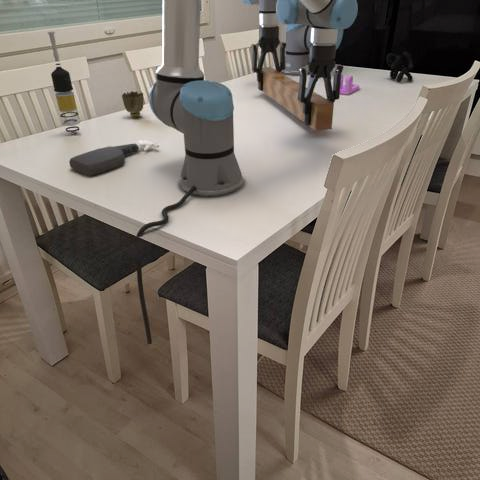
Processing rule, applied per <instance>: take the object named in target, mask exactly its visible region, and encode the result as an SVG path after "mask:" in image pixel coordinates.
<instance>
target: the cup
mask: <svg viewBox="0 0 480 480" xmlns="http://www.w3.org/2000/svg"><path fill="white" fill-rule="evenodd" d="M121 98H122V103H123V105H124V108H125V110H126V112H128V113H129V117H131V118H139V117H140V116H141V112H142V111H143V109H144V92H142V91H140V92H138V91H137V90H136V91H134V90H133V91H132V90H131V91H127V92H124V93H122V94H121Z"/></svg>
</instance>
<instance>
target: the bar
mask: <svg viewBox="0 0 480 480" xmlns="http://www.w3.org/2000/svg"><path fill="white" fill-rule="evenodd" d="M261 73H263V91H261V92H262V93H263V94H265V95H266V96H268V97H269V98H270V99H271V100H273V101H274V102H276V103H277V104H279V106H281V107H282V108H284V109H285V110H287V111H288V112H289V113H291V114H292V115H293V116H294V117H296V118H297V119H298V120H300V121H301V122H302V123H304V124H305V114H303V103H301V102H300V101H298V89H299V81H296V80H294V79H293V78H291V77H289V76H287V75H286V74H284V73H282V72H278V71H277V70H276V69H275V68H274V67H272V66H268V67H262V71H261ZM257 89H258V90H259V82H258V81H257ZM306 89H307V87H306ZM305 92H306V90H305ZM310 104H312V109H311V122H310V126H308V127H309V128H311V129H312V130H313V131H315V132H318V131H319V132H320V131H327V130H332V128H333V119H334V109H335V108H334V107H335V102H334V103H333V102H331V101H329V100H327V97H324V96H322V95H320V94H319V93H317V92H315V91H313V94H312V97H311V100H310Z"/></svg>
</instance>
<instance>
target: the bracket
mask: <svg viewBox="0 0 480 480" xmlns="http://www.w3.org/2000/svg"><path fill="white" fill-rule="evenodd" d="M344 78H345V77H344V74H341V83H340V95H346V96H348V95H350V94H352V93H354V92H356V91H358V90H359V89H360V85H359V84H358V83H354V76H353V75H350V74H349V75H346V78H345V84H344Z"/></svg>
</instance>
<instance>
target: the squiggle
mask: <svg viewBox="0 0 480 480" xmlns="http://www.w3.org/2000/svg"><path fill="white" fill-rule="evenodd" d="M401 57H402V59H401ZM391 59H392V60H391ZM393 60H394V61H393ZM385 61H386V64H387V67H390V68H391V70H390V72H389V78H390V79H391V80H395V79H396V81H397V82H399V83H400V82H402V81H403V79H404V76H406V78H407V80H408V81H412V80H413V79H414V77H413V75H412V74H411V73H410V72H409V71H410V70H412V69H413V68H414V64H413V61H412V57H411V54H410V53H409V52H408V51H403V53H402V54H401V55H396V54H394V53H392V52H390V53H387V55H386V57H385ZM406 62H407V65H408V66H407V67H405V66H404V65H405V64H406ZM400 70H401V71H400Z"/></svg>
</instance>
